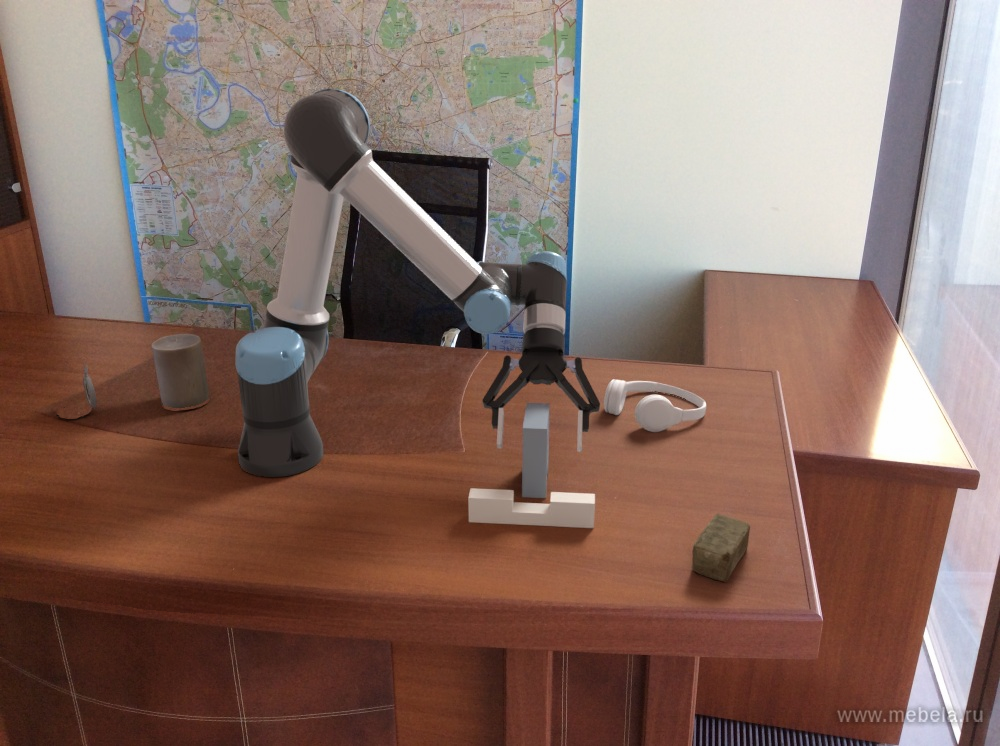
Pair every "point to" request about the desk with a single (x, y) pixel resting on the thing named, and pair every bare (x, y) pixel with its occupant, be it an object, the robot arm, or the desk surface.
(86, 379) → the pocket watch
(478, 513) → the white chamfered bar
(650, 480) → the desk surface
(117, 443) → the desk surface
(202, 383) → the grey cylinder
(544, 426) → the blue-grey rectangular block
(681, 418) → the headphones
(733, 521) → the stone block
